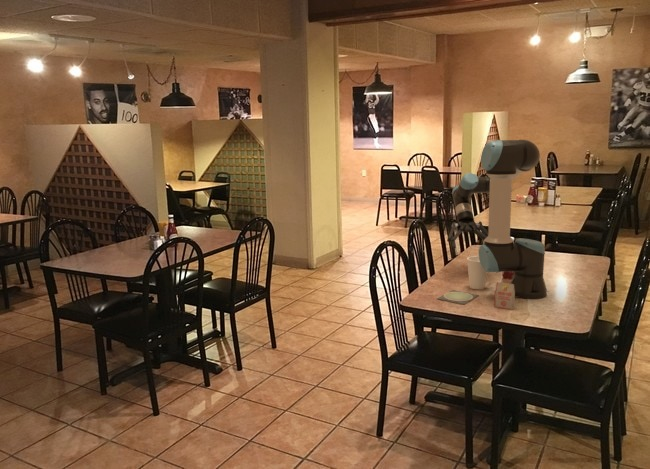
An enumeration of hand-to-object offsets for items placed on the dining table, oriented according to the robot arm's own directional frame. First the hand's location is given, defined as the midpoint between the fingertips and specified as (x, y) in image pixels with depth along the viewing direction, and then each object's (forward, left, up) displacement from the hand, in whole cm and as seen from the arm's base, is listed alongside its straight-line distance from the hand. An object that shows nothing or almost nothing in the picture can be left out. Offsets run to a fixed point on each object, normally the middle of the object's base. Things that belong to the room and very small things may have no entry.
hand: (472, 253), depth 258 cm
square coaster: (-6, +25, -13) cm, 29 cm away
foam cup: (-6, +7, -14) cm, 16 cm away
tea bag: (-26, +25, -14) cm, 38 cm away
